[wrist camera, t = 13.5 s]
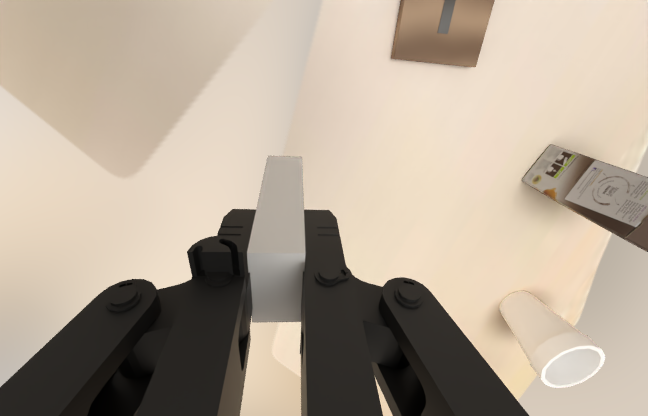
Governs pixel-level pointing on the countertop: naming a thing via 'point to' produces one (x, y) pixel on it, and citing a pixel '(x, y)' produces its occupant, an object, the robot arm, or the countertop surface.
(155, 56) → the countertop surface
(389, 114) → the countertop surface
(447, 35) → the rail board
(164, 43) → the countertop surface
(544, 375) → the foam cup
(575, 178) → the coffee box
